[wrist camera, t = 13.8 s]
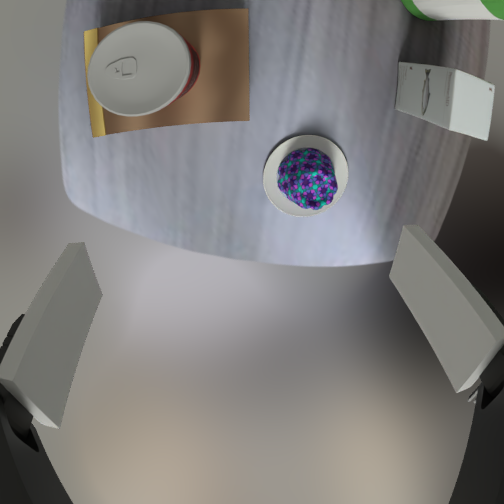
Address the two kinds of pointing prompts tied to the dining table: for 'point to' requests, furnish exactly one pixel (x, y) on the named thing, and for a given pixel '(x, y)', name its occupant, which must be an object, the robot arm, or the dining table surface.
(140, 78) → the canned food
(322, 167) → the pudding
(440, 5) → the wine bottle
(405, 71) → the supplement box
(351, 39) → the dining table surface
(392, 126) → the dining table surface
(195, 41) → the wooden block
